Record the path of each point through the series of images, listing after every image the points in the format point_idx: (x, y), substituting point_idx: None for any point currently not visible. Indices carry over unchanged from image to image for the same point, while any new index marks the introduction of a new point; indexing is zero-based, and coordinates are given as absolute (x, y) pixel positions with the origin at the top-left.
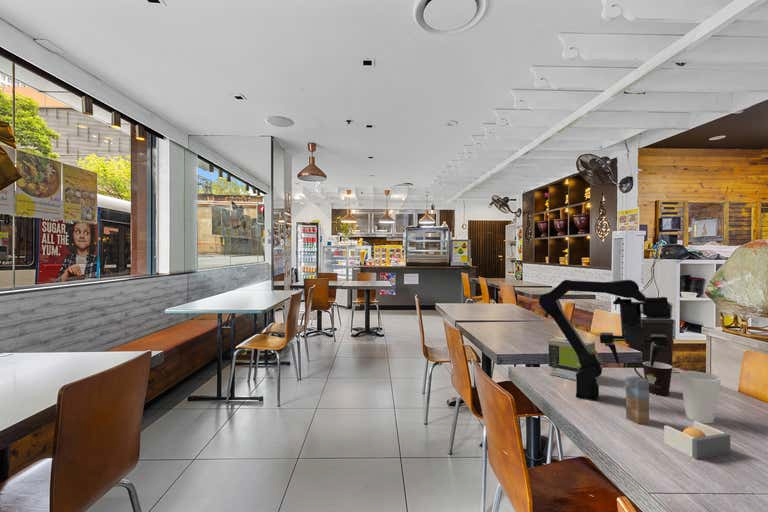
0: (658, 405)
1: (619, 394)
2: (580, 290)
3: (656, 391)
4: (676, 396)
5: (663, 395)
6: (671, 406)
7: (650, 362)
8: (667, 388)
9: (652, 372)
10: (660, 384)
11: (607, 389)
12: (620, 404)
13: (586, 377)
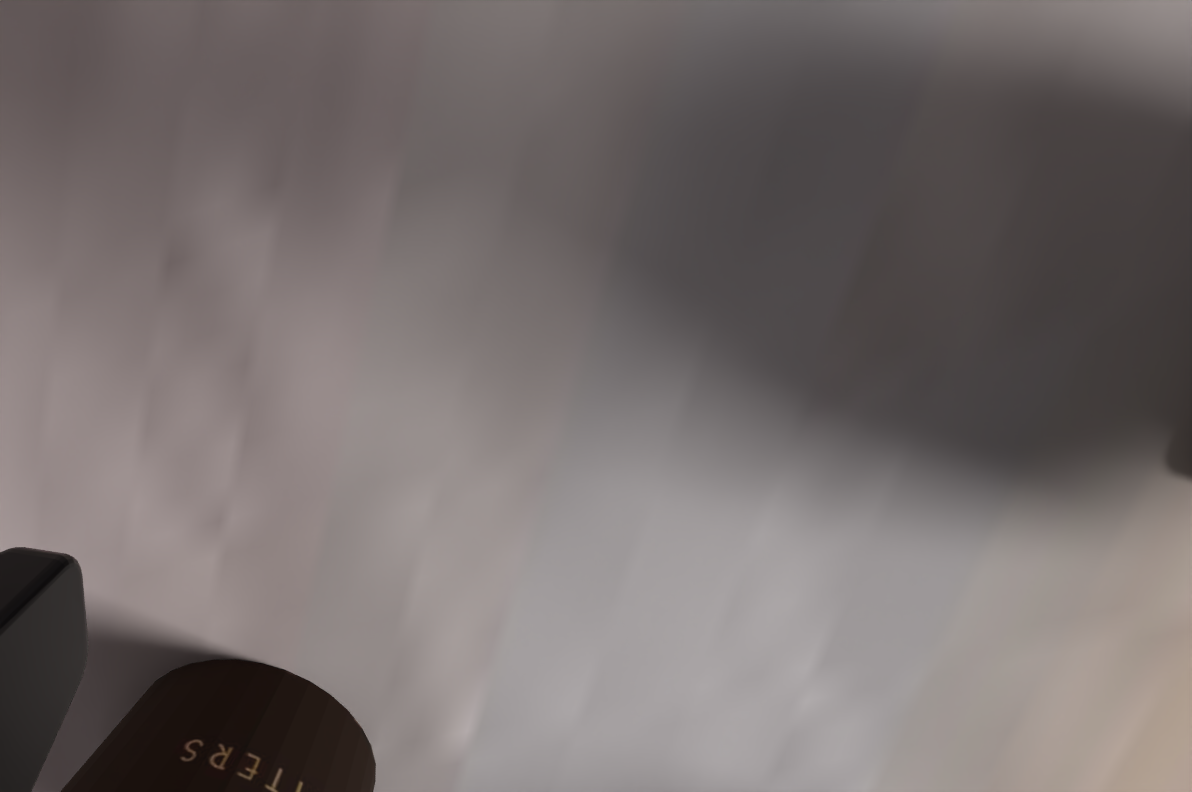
0: (335, 283)
1: (791, 592)
2: None
3: (263, 707)
4: None
5: (199, 667)
6: (160, 296)
7: (9, 787)
8: (100, 752)
9: None
10: (162, 780)
11: (897, 740)
12: (958, 139)
13: None
